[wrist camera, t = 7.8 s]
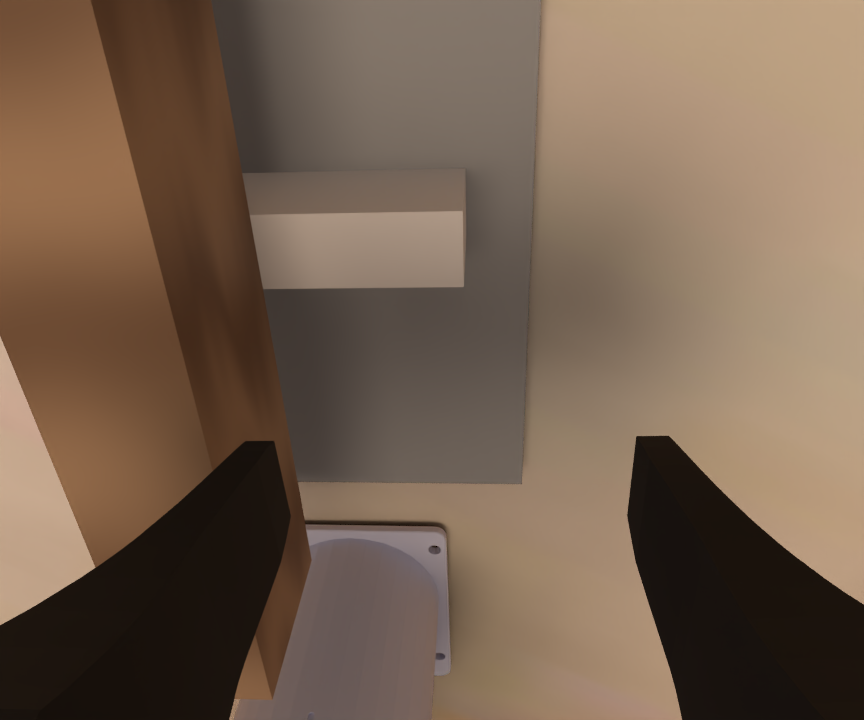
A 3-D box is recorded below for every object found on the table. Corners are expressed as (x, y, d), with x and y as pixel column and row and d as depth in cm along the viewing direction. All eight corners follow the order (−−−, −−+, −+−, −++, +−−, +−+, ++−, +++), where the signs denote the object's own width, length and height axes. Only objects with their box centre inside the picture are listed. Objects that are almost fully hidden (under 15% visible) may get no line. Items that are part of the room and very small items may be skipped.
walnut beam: (311, 560, 23) (272, 700, 18) (210, 558, 23) (148, 695, 19) (147, -352, 11) (-51, -543, 7) (-45, -336, 12) (-348, -511, 7)
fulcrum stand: (520, 467, 26) (528, 564, 22) (81, 462, 28) (8, 554, 23) (548, -286, 15) (575, -385, 11) (-186, -235, 17) (-419, -306, 12)
